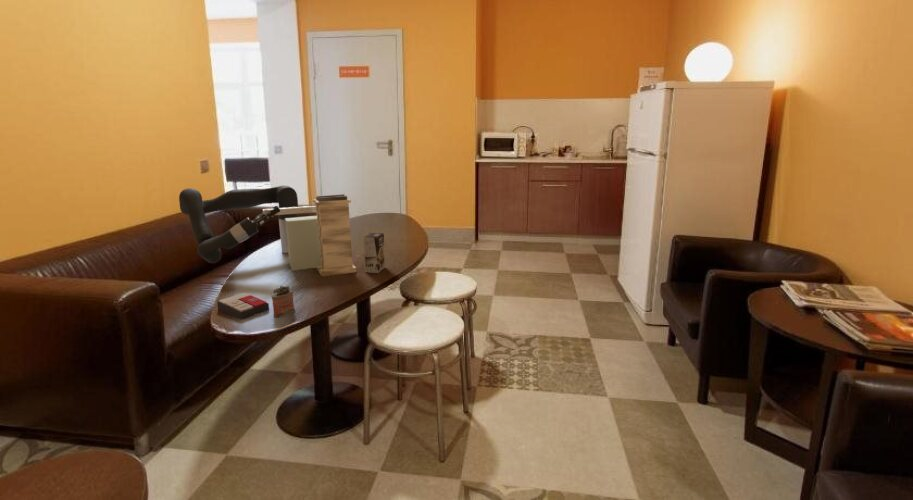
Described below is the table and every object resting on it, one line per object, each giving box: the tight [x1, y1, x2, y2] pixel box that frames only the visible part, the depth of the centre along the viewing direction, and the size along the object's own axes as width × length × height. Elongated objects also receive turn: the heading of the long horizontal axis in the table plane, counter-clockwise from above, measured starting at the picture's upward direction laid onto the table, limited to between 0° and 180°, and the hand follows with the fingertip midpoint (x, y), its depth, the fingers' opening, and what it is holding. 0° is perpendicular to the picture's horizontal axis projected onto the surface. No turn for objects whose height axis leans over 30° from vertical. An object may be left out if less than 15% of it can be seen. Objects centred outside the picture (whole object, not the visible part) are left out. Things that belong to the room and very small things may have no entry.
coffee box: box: [363, 232, 386, 274], centre depth 221 cm, size 9×6×16 cm
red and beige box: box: [216, 292, 270, 321], centre depth 178 cm, size 11×4×15 cm
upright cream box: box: [285, 215, 321, 272], centre depth 228 cm, size 10×16×22 cm, turn 115°
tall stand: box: [312, 193, 357, 277], centre depth 218 cm, size 11×15×34 cm
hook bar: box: [262, 196, 317, 216], centre depth 221 cm, size 3×24×6 cm, turn 115°
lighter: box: [271, 284, 296, 319], centre depth 173 cm, size 8×3×10 cm, turn 145°
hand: (278, 208), depth 219 cm, fingers closed on hook bar, 3 cm apart
